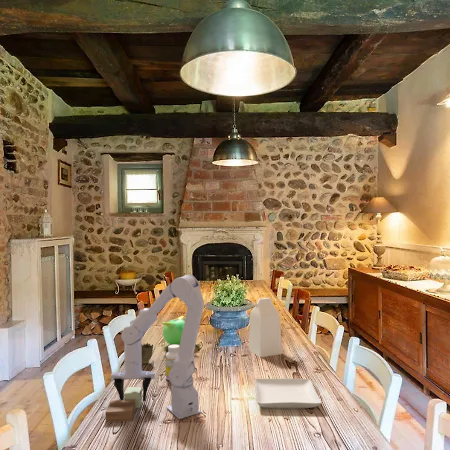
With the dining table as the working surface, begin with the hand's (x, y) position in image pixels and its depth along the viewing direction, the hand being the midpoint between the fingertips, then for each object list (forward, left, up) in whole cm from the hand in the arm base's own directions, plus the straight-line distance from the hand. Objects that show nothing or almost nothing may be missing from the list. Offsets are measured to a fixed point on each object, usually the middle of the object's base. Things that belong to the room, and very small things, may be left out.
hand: (133, 400), depth 130 cm
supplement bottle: (+13, -22, -2) cm, 26 cm away
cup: (+36, -19, -2) cm, 41 cm away
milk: (+17, -73, -2) cm, 75 cm away
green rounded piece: (+50, -44, -2) cm, 67 cm away
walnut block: (-5, +6, -2) cm, 8 cm away
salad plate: (-26, -46, -2) cm, 53 cm away
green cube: (0, 0, -2) cm, 2 cm away
